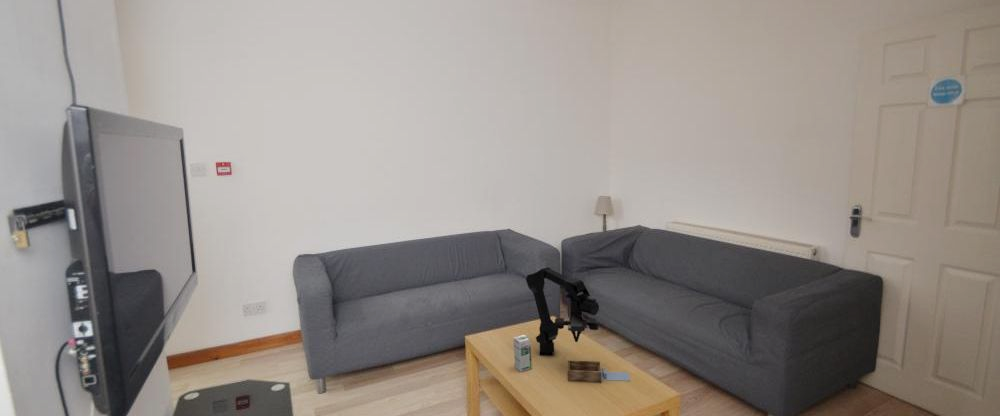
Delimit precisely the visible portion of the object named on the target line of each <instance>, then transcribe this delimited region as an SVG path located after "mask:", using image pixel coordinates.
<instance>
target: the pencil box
mask: <svg viewBox="0 0 1000 416" xmlns="http://www.w3.org/2000/svg"><path fill="white" fill-rule="evenodd" d="M601 372H602V370H601V362H600V361H596V360H595V361H593V360H591V361H589V360H569V359H568V360H567V382H578V383H579V382H582V383H583V382H585V383H602V380H601Z"/></svg>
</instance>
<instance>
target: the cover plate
mask: <svg viewBox="0 0 1000 416" xmlns="http://www.w3.org/2000/svg"><path fill="white" fill-rule="evenodd" d="M606 369H607V368H606V367H602V370H601V381H603V382H604V381H605V382H606V381H607V382H609V381H611V382H613V381H614V382H631V377H630V374H629V372H625V371H623V372H620V371H607V370H606Z"/></svg>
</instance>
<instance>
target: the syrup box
mask: <svg viewBox="0 0 1000 416" xmlns="http://www.w3.org/2000/svg"><path fill="white" fill-rule="evenodd" d="M512 339H513V352H514V353H513V355H514V356H513V357H514V359H513V360H514V367H515V368H516V369H517V370H518V371H519V372H520V373H522V372H525V371H528V370H531V369H532V368H533V367H532V366H533V365H532V348H531V346H532V344H531V343H532V342H531V338H530V337H529V336H528V335H526V334H522V335H519V336H514V337H513V338H512Z"/></svg>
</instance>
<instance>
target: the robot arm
mask: <svg viewBox="0 0 1000 416" xmlns="http://www.w3.org/2000/svg"><path fill="white" fill-rule="evenodd" d="M545 279H547V280H548V281H550V282H553V283H555V284H557V285H559V286H560V287H561V288H563V290H564V291H565V292H566V293H567V294H566V295H565V297H566V298H567V299H569V320H565V319H564V318H565V317H555V319H554V321H553V320H552V318H551V314H550V311H549V308H548V307H549V306H548V303H547V298H546V295H545V291H544V290H545V289H544V288H545ZM525 282H526V284H527V288H529V289H530V291H531V292H532V293H533V297H534V301H535V305H536V309H537V313H538V316H539V317H538V318H539V320H540V323H539V334H538V335H537V336H536V337H535V341H536V342H537V343H538V344H539V356H550V357H551V356H552V357H553V356H554V354H555V342H554V340H557V337H558V335H559V330H562V329H565V326H567V331H570V333H571V334H572V336H573V339H574V342H575V343H578V342H579V338H580V335H581V334H582V333H583V332H584V331H586V329H587V328H589V330H590V331H591V330H593V331H598V330H599V323H598V321H599V320H598V319H596V318H588V320H587V319H584V316H583V315H584V314H583V313H586V314H588V315H591V316H596V315H597V314H598V312H599V310H600V305H599V302H597V299H596V298H591V297H590V296H591V294H590V292H589V291H588V289H587V287H586V285H585V283H584V280H581V279H578V278H573V277H572V278H571V277H567V276H565V275H563V274H562V273H560V272H557V271H556V270H553V269H552V268H551V267H548V266H546V267H544V268H540V269H539V270H537V271H535V272H533V273H529V274H527V276H526V278H525ZM581 293H582V294H581Z"/></svg>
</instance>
